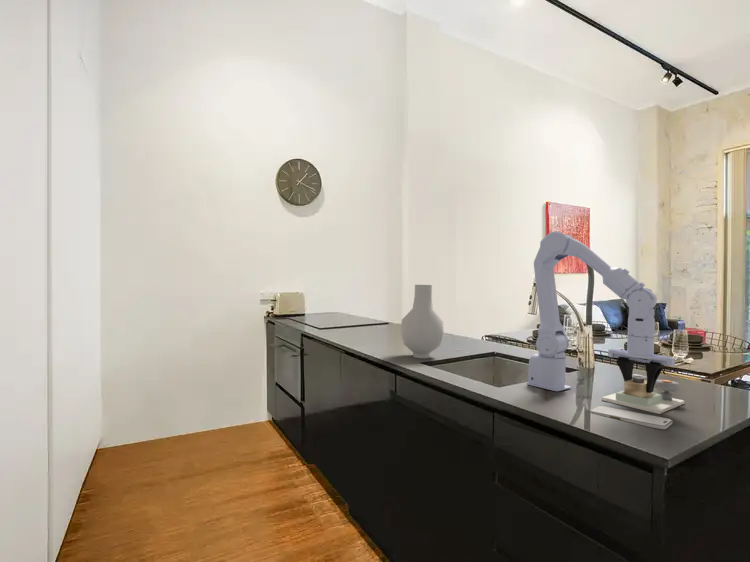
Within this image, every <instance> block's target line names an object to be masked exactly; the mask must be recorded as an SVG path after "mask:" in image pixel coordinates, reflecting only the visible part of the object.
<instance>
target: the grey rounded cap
mask: <svg viewBox="0 0 750 562" xmlns="http://www.w3.org/2000/svg"><path fill="white" fill-rule="evenodd" d="M654 389H656V390H660V391H663V392H664V393H672V392H676V393H677V392H679V391H680V383H679V382H677V381H674V380H673V381H672V380H670V379H669V380H668V379H657V380H656V383H655V386H654Z"/></svg>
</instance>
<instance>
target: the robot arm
mask: <svg viewBox="0 0 750 562" xmlns="http://www.w3.org/2000/svg"><path fill="white" fill-rule="evenodd" d="M569 256H570V257H574V258H578V259H579V260H581V261H582V262H583V263H585V265H587V266H588V267H590V268H591V269H593V270H594V271H595V272H596V273H598V274H599V275H600V276H601V277H602V283H603V285H604V286H605V287H606V288H608V289H609V290H610V291H611V292H612V293H614V294H615V295H616V296H617V297H619V299H621V300H625V302H626V306H627V308H628V317H627V344H626V350H624V349H613V348H610V349H608V355H607V356H608V357H609V358H617V359H616V364H617V367H618V368H619V371H620V373H621V374H622V378H623V381H624V382H625V381H628V380H631V379H632V374H633V372H634V365H635V361H636V362H642V363H643V362H644V363H646V364H645V372H646V377H647V387H646V389H647V392H648V393H651V392H653V393H654V389H655V383H656V380H658V378H659V376H660V374H661V373H662V371H663V370H664V368H665V366H668V367H675V366H676V357H670V356H665V355H659V354H656V353H655V332H656V331H655V327H656V326H655V322H656V319H655V315H656V314H655V313H656V312H655V306H656V305H657V302H658V300H657V299H658V298H657V296H656V294H655V293H654V292H653V291H652V289H650V288H646V287H645V286H646V284H645V283H644V282H640V281H638V280H636V279H635V278H634V277H633V276H631V275H630V271H629V270H628V269H627V268H624V269H623V268H621V267H619V266H618V267H612V266H610V265H609V264H608V263H607V262H606V261H605V260H604V259H602V258H601V257H600V256H599V255H598V254H597V253H595V252H594V250H592V249H591V248H590V247H588V246H587V245H586V244H584V243H583V242H581V241H579V240H578V239H575V238H574V237H573V236H572V235H569V234H566V233H564V232H563V233H562V232H561V231H551V232H549V233H547V234H546V235H545V236H544V237H543V238H542V239H541V241H540V242H539V248H538V251H537V253H536V256H535V258H534V260H533V270H534V277H535V286H536V294H537V304H538V312H539V321H540V324H539V325H538V329H537V338H536V342H535V347H536V350H537V351H538V353H533V354H532V355H531V356H530V358H529V361H528V375H527V377H528V381H527V382H526V385H528V386H533V387H535V388H541V389H545V390H549V391H553V392H561V391H564V390H570V389H572V386H570V385H567V384H566V366H567V365H566V363H567V361H566V360H567V355H566V354H565V352H566V351H567V349H568V348H569V346H570V345H569V344H570V343H569V339H568V337H567V335H566V334H565V331H564V330H565V329H564V326H563V324H562V323H561V320H560V311H559V304H558V296H557V288H556V278H555V277H556V276H555V266H557V265H558V263H560V262H561V260H564V259H565V258H567V257H569Z"/></svg>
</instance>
